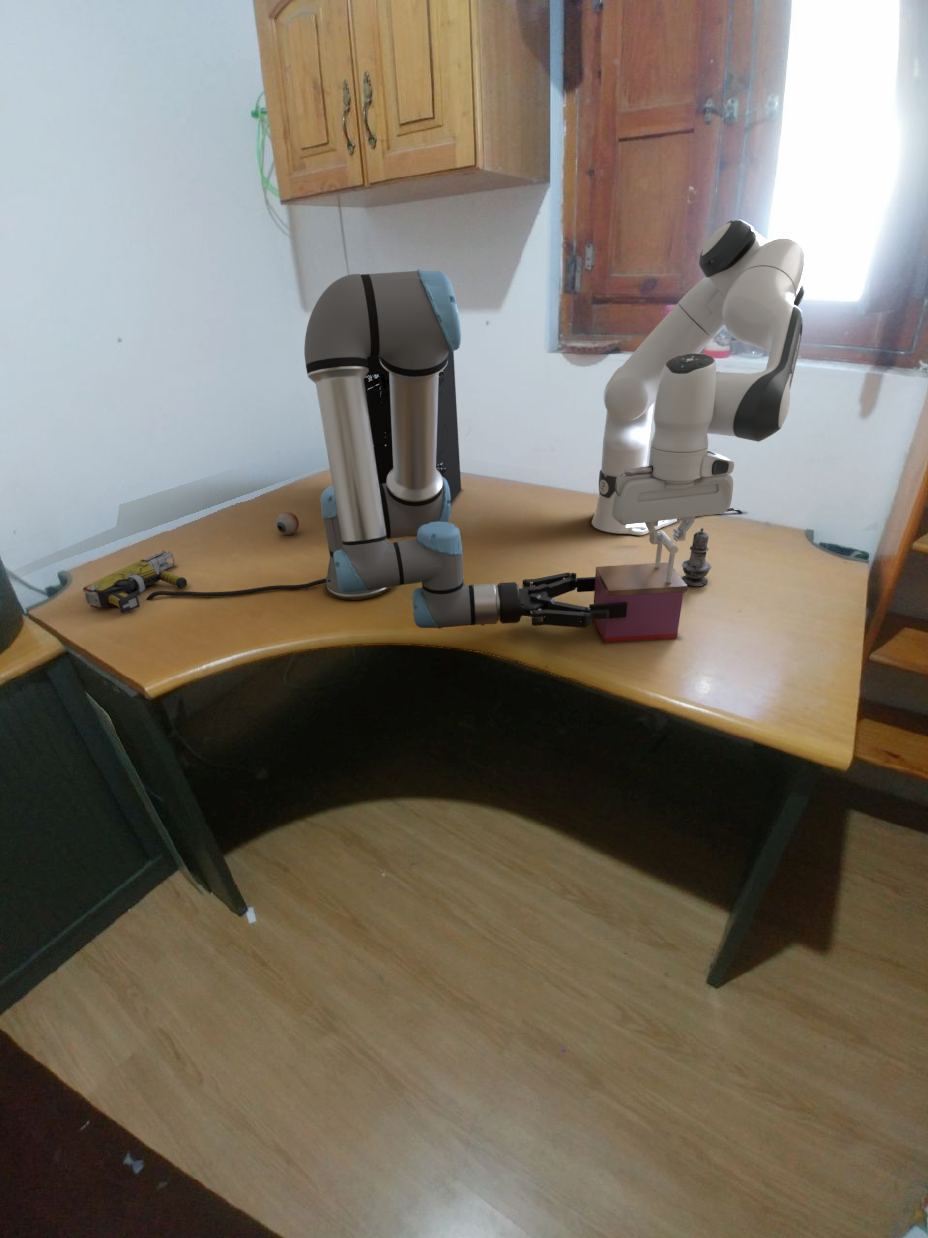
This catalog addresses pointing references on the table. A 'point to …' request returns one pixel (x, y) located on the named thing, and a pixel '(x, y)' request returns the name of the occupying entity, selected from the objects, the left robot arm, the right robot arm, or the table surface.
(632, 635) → the chest
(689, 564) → the pewter chess piece
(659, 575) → the lid
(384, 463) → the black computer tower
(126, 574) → the toy gun
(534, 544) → the table surface
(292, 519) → the eyeball
